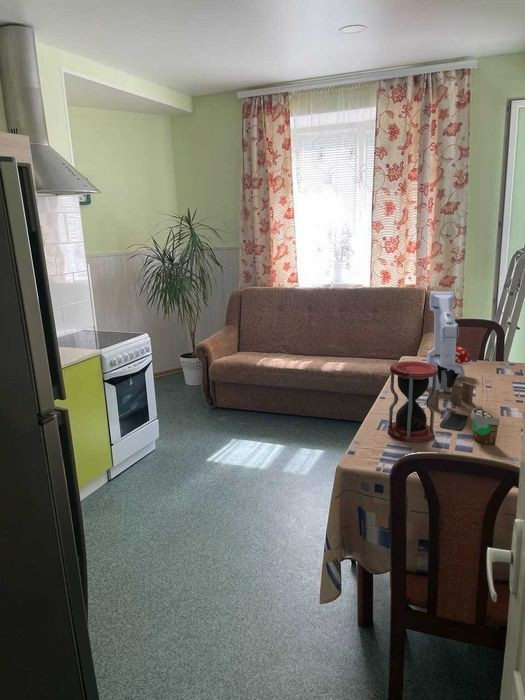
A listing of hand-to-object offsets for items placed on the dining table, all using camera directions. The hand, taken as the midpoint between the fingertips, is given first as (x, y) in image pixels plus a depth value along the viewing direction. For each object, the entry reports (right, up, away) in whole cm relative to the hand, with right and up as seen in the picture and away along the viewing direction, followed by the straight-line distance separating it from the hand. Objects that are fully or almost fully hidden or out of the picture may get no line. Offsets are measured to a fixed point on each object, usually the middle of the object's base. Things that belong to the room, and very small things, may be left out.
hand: (445, 385), depth 211 cm
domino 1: (-5, -9, +1) cm, 10 cm away
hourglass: (-22, -16, -25) cm, 37 cm away
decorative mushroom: (+19, +1, +39) cm, 43 cm away
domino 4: (+11, -7, +5) cm, 14 cm away
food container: (0, -17, -32) cm, 36 cm away
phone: (-2, -13, -16) cm, 21 cm away
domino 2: (0, -2, +1) cm, 2 cm away
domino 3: (+5, -8, +4) cm, 10 cm away
